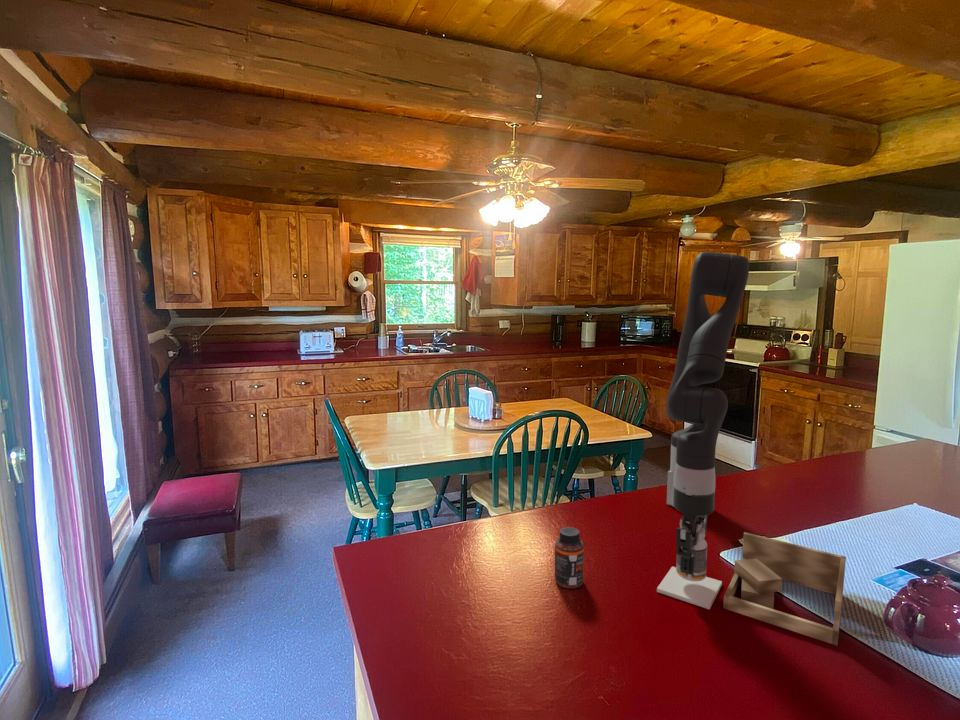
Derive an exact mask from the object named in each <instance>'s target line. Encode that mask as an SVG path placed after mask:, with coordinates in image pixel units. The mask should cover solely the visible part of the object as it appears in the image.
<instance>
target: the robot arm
mask: <svg viewBox="0 0 960 720" xmlns="http://www.w3.org/2000/svg"><path fill="white" fill-rule="evenodd" d="M749 272H750V261H749V259H748V258H747V257H746V256H743V255H738V254H731V253H723V252H714V251H703V252H702V251H701V252H700V253H699V254H698V255H697V256H696V258H695V260H694V262H693V265H692V270H691V276H690V283H689V292H688V299H687V308H686V313H685V318H684V322H683V326H682V331H681V334H680V338H679V339H680V340H679V344H678V348H677V349H678V350H677V356H676V364H675V368H674V373H673V376H672V380H671V383H670V386H669V390H668V393H667V397H666V404H665V411H666V414H667V417H668V418H669V419H670V420H672V421H675V422H687V423H692V424H690V425H689V426H687V427H685V428H683V429H680V430H676V431H675V432H673V433H672V434H671V438H670V462H669V463H670V464H669V465H670V466H669V467H670V468H669V469H668V471H667V485H666V486H667V487H666V505H668V506H671V507H672V508H674V509H675V510H676V511H679V512H680V513H681V514H682V517H680V519H679V527H677V528H676V530H675V532H676V533H675V534H676V556H677V555H679V556H681V568H680V570H681V572H683V573H686V574H689V575H691V574H692V573H693V559H694V550H695V546H696V545H698V541H699V534H700V531H701V530H702V528H704V529H705V536H707V525H708V524H707V523H708V516H709V515H712V513H713V512H714V511H715V499H716V498H715V495H716V494H715V492H716V469H715V467H716V466H715V465H716V464H715V463H716V447H717V440H718V437H719V433H720V430H721V428H722V425H723V422H724V420H725V419H726V418H725V417H726V415H727V411H728V408H729V400H728V397H727V394H726V393H725V392H724V391H723V390H722V389H720V388H716V387H709V386H707V387H705V386H700V385H705V384H711V383H715V382H717V381H719V380H720V379H721V378H722V377H723V374H724V372H725V371H724V370H725V365H726V359H727V352H728V347H729V342H730V338H731V335H732V331H733V330H734V326H735V324H736V320H737V317H738V314H739V311H740V307H741V303H742V300H743V297H744V294H745V289H746V287H747V284H748V283H747V282H748V278H749ZM705 296H712V297H713V296H714V297H720V298H721V297H722V298H726V299H725V300H724V302H723V304H722V306H721V307H720V308H719V309H718V310H717V311H716V312H715V313H714V314H713V315H712V314H711V313H710V310H709V308H708V306H707V302H706V298H705ZM691 537H695V539H694V540H693V541H692V540H691ZM684 547H685V548H687V549H684Z"/></svg>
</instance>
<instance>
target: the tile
mask: <svg viewBox="0 0 960 720" xmlns="http://www.w3.org/2000/svg"><path fill="white" fill-rule="evenodd" d="M722 585H723V581H722V580H718V579H715V578H712V577H710V576H709V577H708V576H706V577H705V579H704V580H702V581H689V580H686V579H684V578H682V577H680V576H679V575H678V574H677V571H676V566H671V567H670V569H669V570H668V572H667V573H666V575H665V576H664V577H663V579H662V581H661V582H660V584H658V586H657V587H656V593H659V594H662V595H664V596H668V597H670V598H673V599H677V600H680V601H683V602H686V603H689V604H692V605H695V606H698V607H700V608H704V609H707V610H710V609H711V607H712V605H713V604H714V601H715V599H716V598H717V595H718V593H719V591H720V589H721V588H722Z"/></svg>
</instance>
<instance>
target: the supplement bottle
mask: <svg viewBox="0 0 960 720" xmlns="http://www.w3.org/2000/svg"><path fill="white" fill-rule="evenodd" d="M584 560H585V544H584V541H583V540H582V539H581V537H580V530H579V529H578V528H576V527H569V526H568V527H562V528H560V530H559V537H557V539H556V540H555V544H554V581H555V583H556V584H557V585H558V586H560V587H561V588H564V589H568V590H569V589H570V590H573V589H578V588H580V587H581V586H583V584H584V577H585V576H584V569H585V568H584V567H585V563H584V562H585V561H584Z"/></svg>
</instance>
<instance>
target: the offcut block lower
mask: <svg viewBox="0 0 960 720" xmlns="http://www.w3.org/2000/svg"><path fill="white" fill-rule="evenodd" d="M740 583H741V584H740V585H741V587H740V588H741V589H740V599H742V600H746V601H749V602H752V603H755V604H758V605H761V606H765V607H768V608H771V609H774V605H775V592H767V593H757V592H756V591H755V590H754V589H753V588H752V587H751V586H750V585H748V584H747V583H746V582H745V581H744V580H743V579H741V582H740Z"/></svg>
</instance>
